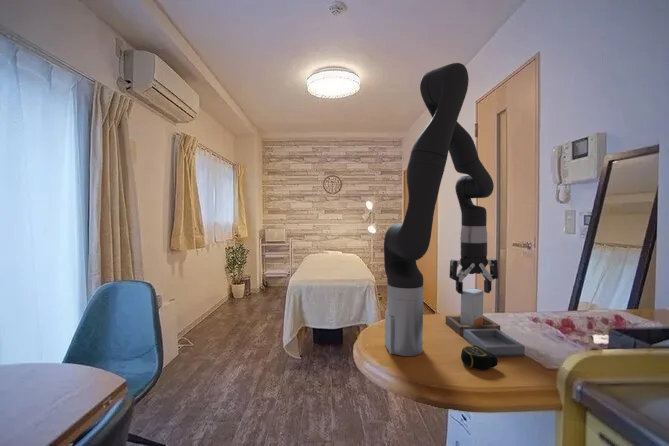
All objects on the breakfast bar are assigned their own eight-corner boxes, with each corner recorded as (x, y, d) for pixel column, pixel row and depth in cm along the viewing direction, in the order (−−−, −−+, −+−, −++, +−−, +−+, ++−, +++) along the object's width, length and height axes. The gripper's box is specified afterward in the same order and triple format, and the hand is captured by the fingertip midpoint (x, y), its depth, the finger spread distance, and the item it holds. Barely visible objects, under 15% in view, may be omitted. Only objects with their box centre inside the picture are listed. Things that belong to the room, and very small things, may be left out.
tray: (486, 357, 80) (486, 347, 80) (463, 338, 92) (463, 329, 92) (524, 355, 81) (524, 346, 81) (497, 337, 93) (497, 328, 93)
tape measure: (499, 371, 74) (499, 354, 73) (475, 375, 71) (475, 359, 71) (477, 357, 80) (477, 343, 80) (454, 361, 78) (455, 346, 78)
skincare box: (473, 333, 96) (473, 293, 95) (459, 328, 99) (460, 290, 99) (483, 328, 100) (484, 290, 99) (470, 324, 103) (470, 287, 102)
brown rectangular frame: (459, 335, 94) (459, 327, 94) (445, 323, 104) (445, 315, 104) (500, 334, 95) (500, 325, 95) (482, 322, 105) (482, 314, 105)
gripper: (456, 242, 94) (456, 297, 95) (503, 241, 95) (503, 295, 95) (446, 239, 101) (446, 290, 102) (489, 239, 102) (489, 289, 103)
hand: (473, 293), depth 99 cm, fingers open, 8 cm apart
